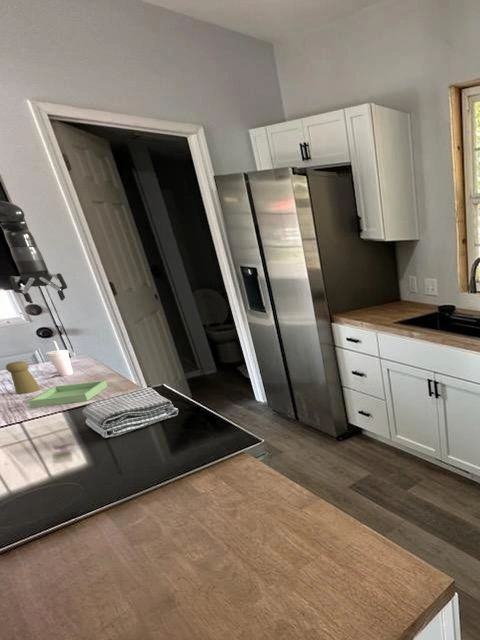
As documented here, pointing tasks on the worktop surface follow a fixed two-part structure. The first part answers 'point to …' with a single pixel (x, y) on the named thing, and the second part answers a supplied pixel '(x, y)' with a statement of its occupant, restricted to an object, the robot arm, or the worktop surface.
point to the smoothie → (60, 361)
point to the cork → (22, 378)
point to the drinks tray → (68, 394)
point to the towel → (128, 412)
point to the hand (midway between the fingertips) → (47, 301)
